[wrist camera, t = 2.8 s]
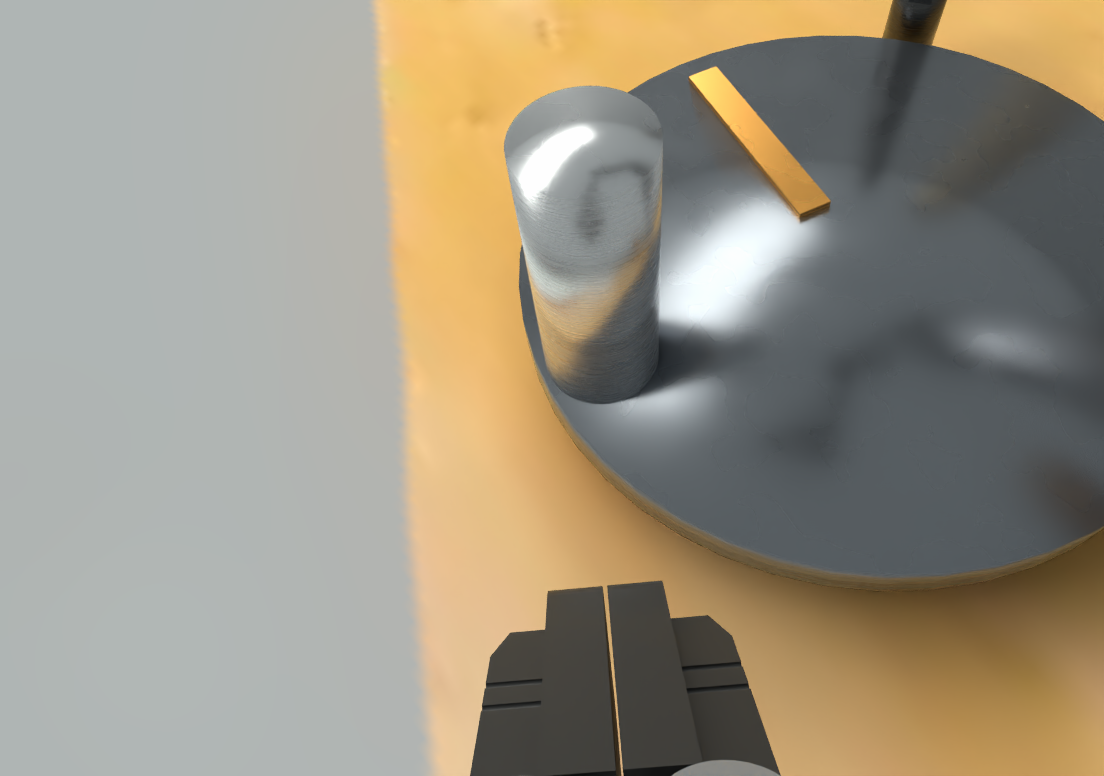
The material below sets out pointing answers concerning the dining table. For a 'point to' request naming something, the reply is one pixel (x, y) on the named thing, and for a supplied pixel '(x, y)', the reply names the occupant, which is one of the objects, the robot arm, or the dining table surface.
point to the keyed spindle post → (914, 20)
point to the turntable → (827, 305)
